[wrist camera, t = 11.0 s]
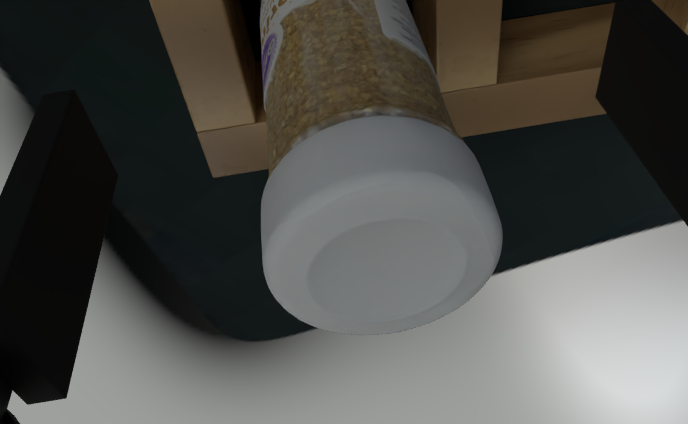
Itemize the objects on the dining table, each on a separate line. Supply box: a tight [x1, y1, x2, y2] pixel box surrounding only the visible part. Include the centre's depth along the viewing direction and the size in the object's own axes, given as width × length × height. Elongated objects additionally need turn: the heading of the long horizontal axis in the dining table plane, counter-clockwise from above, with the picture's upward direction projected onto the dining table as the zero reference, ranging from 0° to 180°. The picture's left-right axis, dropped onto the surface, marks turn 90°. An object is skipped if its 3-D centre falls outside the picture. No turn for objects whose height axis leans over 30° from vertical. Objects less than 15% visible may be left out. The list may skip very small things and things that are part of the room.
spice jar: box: [260, 0, 503, 335], centre depth 16 cm, size 5×5×13 cm
